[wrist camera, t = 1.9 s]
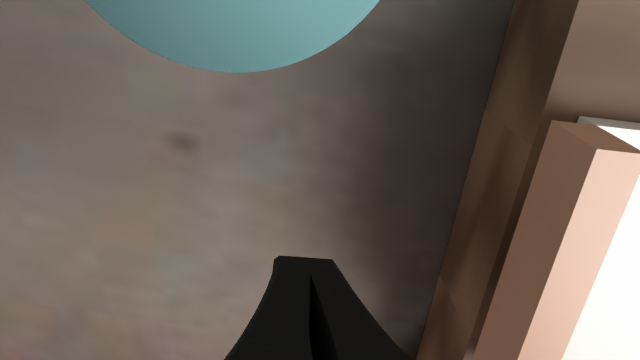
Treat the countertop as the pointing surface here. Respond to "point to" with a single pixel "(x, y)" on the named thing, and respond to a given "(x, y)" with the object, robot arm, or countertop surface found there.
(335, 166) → the countertop surface
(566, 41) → the socket block
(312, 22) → the peg
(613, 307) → the panel
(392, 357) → the robot arm
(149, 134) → the countertop surface
